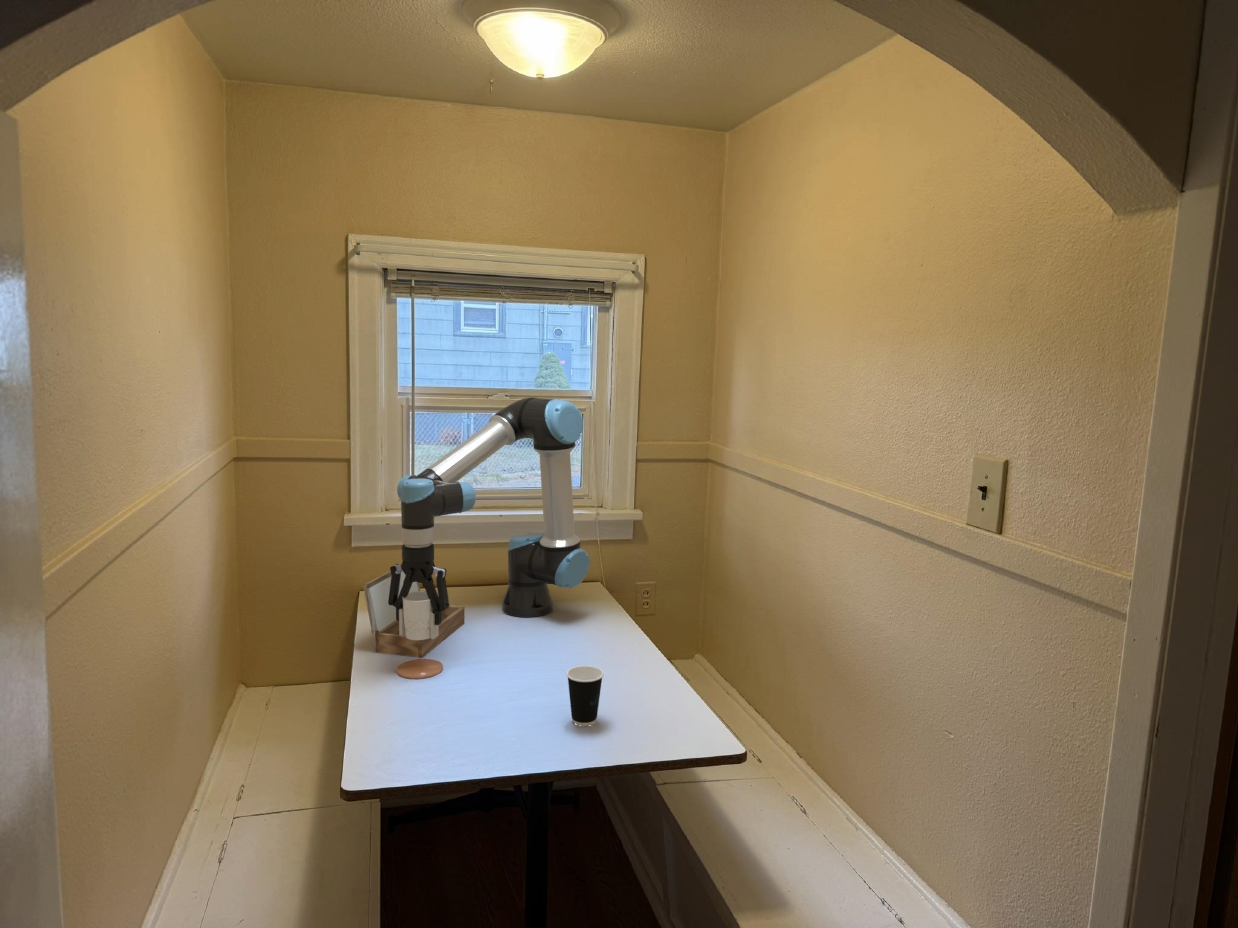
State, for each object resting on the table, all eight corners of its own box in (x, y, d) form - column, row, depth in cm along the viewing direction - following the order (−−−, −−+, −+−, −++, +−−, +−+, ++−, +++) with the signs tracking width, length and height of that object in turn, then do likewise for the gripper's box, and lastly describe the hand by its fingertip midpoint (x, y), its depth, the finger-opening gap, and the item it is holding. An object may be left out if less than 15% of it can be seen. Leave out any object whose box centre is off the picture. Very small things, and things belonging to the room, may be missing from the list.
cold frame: (464, 623, 227) (464, 604, 226) (422, 657, 202) (421, 635, 201) (422, 619, 230) (422, 599, 229) (375, 652, 205) (375, 630, 204)
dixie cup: (565, 713, 173) (565, 665, 172) (601, 712, 174) (602, 664, 172) (566, 730, 165) (566, 680, 164) (604, 729, 166) (605, 680, 165)
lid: (414, 558, 228) (411, 559, 228) (366, 584, 202) (363, 585, 203) (422, 602, 229) (419, 602, 229) (375, 633, 204) (372, 633, 204)
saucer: (450, 663, 198) (450, 661, 198) (430, 681, 188) (430, 678, 188) (410, 658, 201) (410, 656, 201) (388, 676, 190) (388, 673, 190)
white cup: (396, 636, 192) (395, 596, 191) (422, 627, 199) (421, 589, 197) (417, 644, 188) (416, 603, 186) (443, 634, 194) (442, 595, 193)
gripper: (464, 543, 191) (464, 634, 194) (387, 536, 196) (388, 625, 199) (450, 551, 184) (451, 645, 187) (371, 543, 188) (372, 636, 192)
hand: (419, 635), depth 193 cm, fingers closed on white cup, 8 cm apart
